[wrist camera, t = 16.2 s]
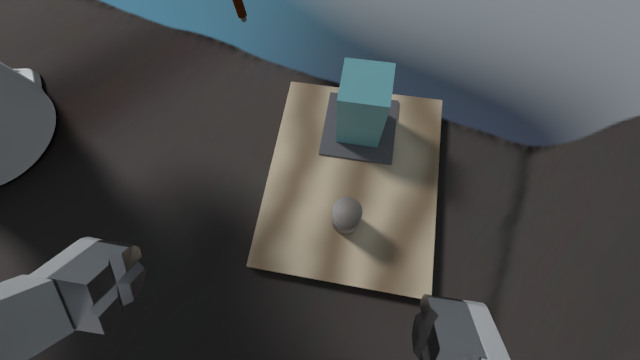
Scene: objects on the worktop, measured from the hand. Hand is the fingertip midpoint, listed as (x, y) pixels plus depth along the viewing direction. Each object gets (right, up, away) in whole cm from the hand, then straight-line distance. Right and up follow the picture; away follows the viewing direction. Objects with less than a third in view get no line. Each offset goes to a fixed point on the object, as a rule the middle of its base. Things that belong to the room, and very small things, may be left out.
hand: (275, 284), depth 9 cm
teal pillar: (+6, +9, +25) cm, 28 cm away
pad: (+6, +9, +26) cm, 28 cm away
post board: (+5, +3, +25) cm, 26 cm away
